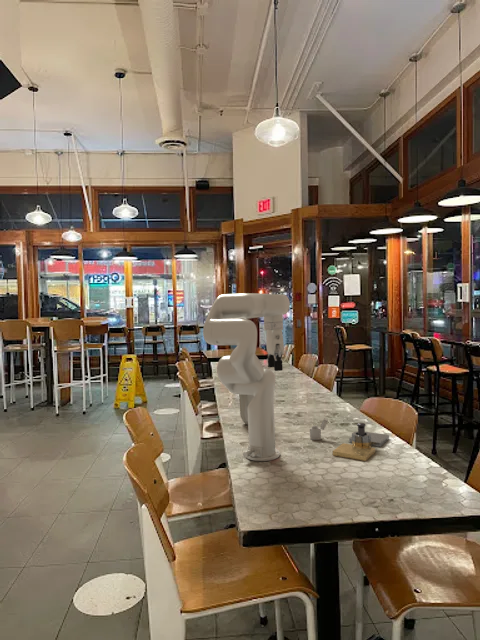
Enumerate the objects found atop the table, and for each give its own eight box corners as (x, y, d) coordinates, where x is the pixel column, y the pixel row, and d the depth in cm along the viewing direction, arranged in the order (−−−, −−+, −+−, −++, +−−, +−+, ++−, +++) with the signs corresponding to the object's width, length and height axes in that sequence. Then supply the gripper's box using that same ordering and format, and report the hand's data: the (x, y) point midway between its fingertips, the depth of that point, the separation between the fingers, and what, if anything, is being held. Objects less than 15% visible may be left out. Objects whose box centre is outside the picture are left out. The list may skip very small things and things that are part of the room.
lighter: (310, 439, 177) (309, 419, 177) (310, 438, 179) (309, 418, 178) (328, 439, 177) (327, 419, 176) (327, 437, 178) (327, 418, 178)
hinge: (365, 461, 152) (365, 446, 151) (332, 455, 158) (332, 441, 158) (389, 438, 174) (388, 426, 174) (359, 434, 181) (358, 422, 181)
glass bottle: (261, 427, 197) (258, 364, 196) (238, 426, 199) (235, 364, 198) (264, 421, 207) (262, 361, 206) (242, 420, 209) (240, 361, 208)
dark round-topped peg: (364, 448, 164) (363, 425, 163) (356, 447, 165) (355, 424, 165) (367, 446, 166) (366, 423, 166) (359, 445, 168) (358, 422, 168)
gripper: (288, 326, 171) (290, 371, 171) (276, 324, 188) (278, 365, 188) (269, 327, 169) (271, 372, 170) (259, 325, 186) (261, 366, 187)
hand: (275, 368), depth 179 cm, fingers open, 9 cm apart
